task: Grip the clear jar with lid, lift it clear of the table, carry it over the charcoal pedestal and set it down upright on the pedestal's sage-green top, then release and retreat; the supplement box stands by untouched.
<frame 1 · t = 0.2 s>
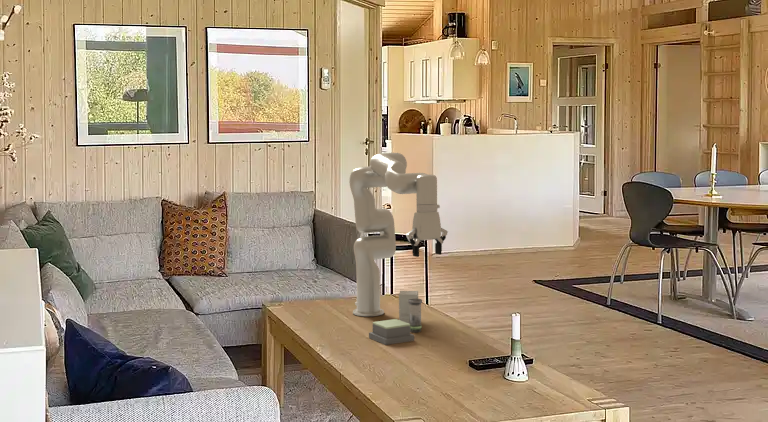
hand: (427, 255, 356), 30 cm above the table, fingers open, 9 cm apart
supplement box: (409, 324, 378), on the table
clear jar with lid: (415, 331, 366), on the table
pedestal: (391, 339, 354), on the table
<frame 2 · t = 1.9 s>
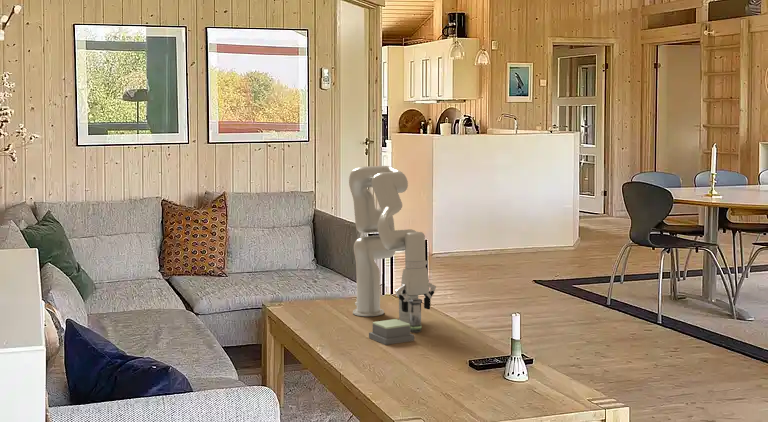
hand: (416, 310, 365), 8 cm above the table, fingers open, 9 cm apart
nothing on the table moved.
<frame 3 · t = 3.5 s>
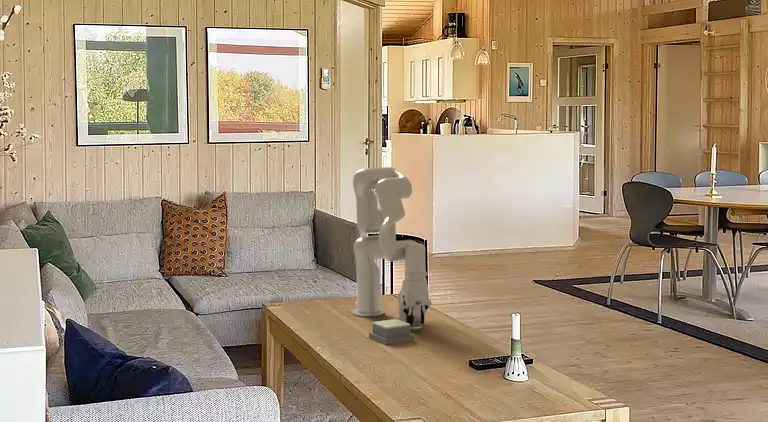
hand: (415, 323, 366), 3 cm above the table, fingers closed on clear jar with lid, 4 cm apart
clear jar with lid: (415, 331, 366), on the table, touching gripper
everything else where it was.
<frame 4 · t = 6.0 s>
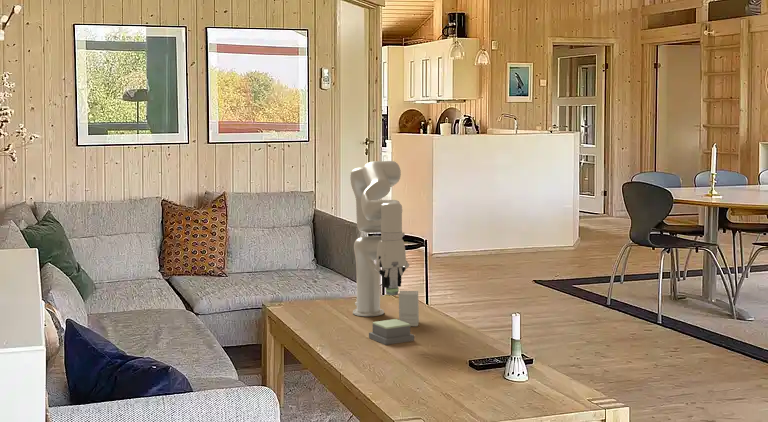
hand: (391, 286, 352), 20 cm above the table, fingers closed on clear jar with lid, 4 cm apart
clear jar with lid: (392, 294, 353), point 17 cm above the table, touching gripper
everything else where it was.
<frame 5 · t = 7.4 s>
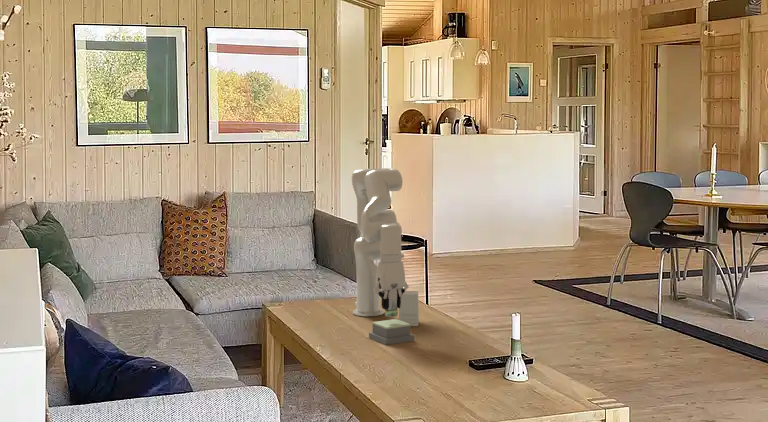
hand: (391, 307, 353), 12 cm above the table, fingers closed on clear jar with lid, 4 cm apart
clear jar with lid: (391, 315, 353), point 9 cm above the table, touching gripper
everything else where it was.
when the fingers open (10 cm above the table, at t = 8.4 s): clear jar with lid drops 1 cm, resting on pedestal.
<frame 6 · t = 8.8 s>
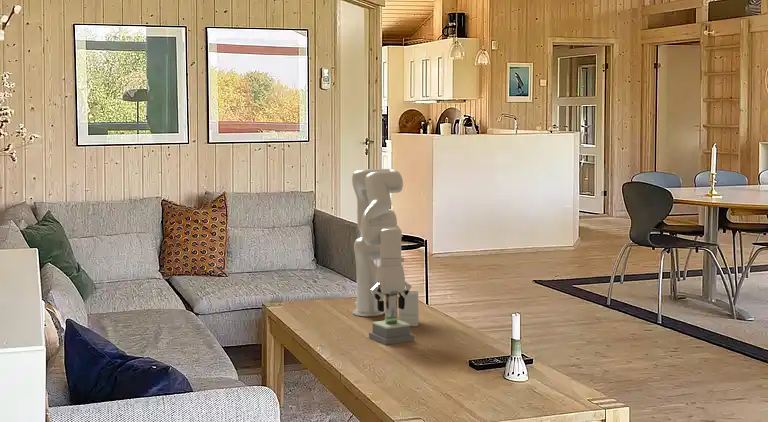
hand: (391, 309, 353), 11 cm above the table, fingers open, 8 cm apart
clear jar with lid: (391, 323, 354), point 6 cm above the table, touching pedestal
everything else where it was.
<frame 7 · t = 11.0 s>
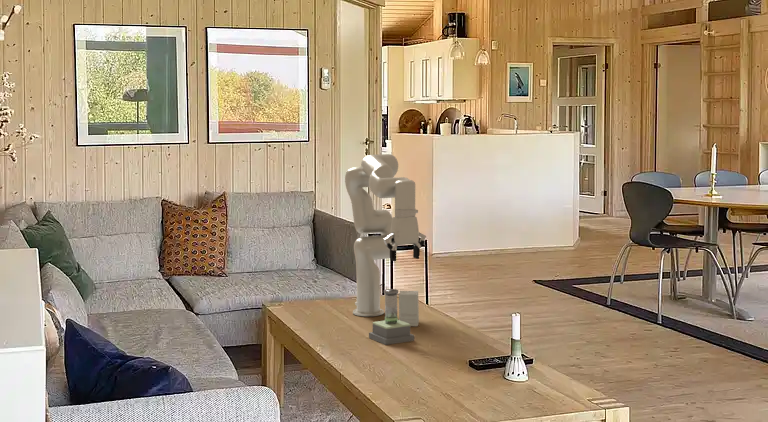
hand: (404, 259, 359), 28 cm above the table, fingers open, 9 cm apart
nothing on the table moved.
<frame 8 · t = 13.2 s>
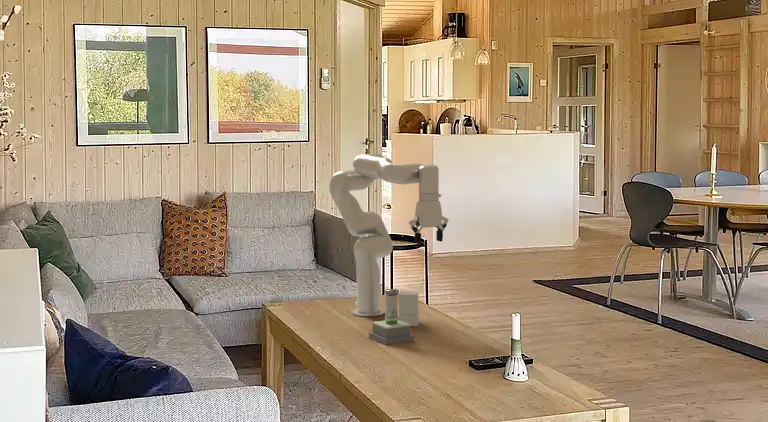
hand: (428, 242, 373), 32 cm above the table, fingers open, 9 cm apart
nothing on the table moved.
at the end: clear jar with lid inside the target area on the pedestal (0.1 cm from its centre), point 6.0 cm above the pedestal's base; clear jar with lid tilted 1°; the gripper is holding nothing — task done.
